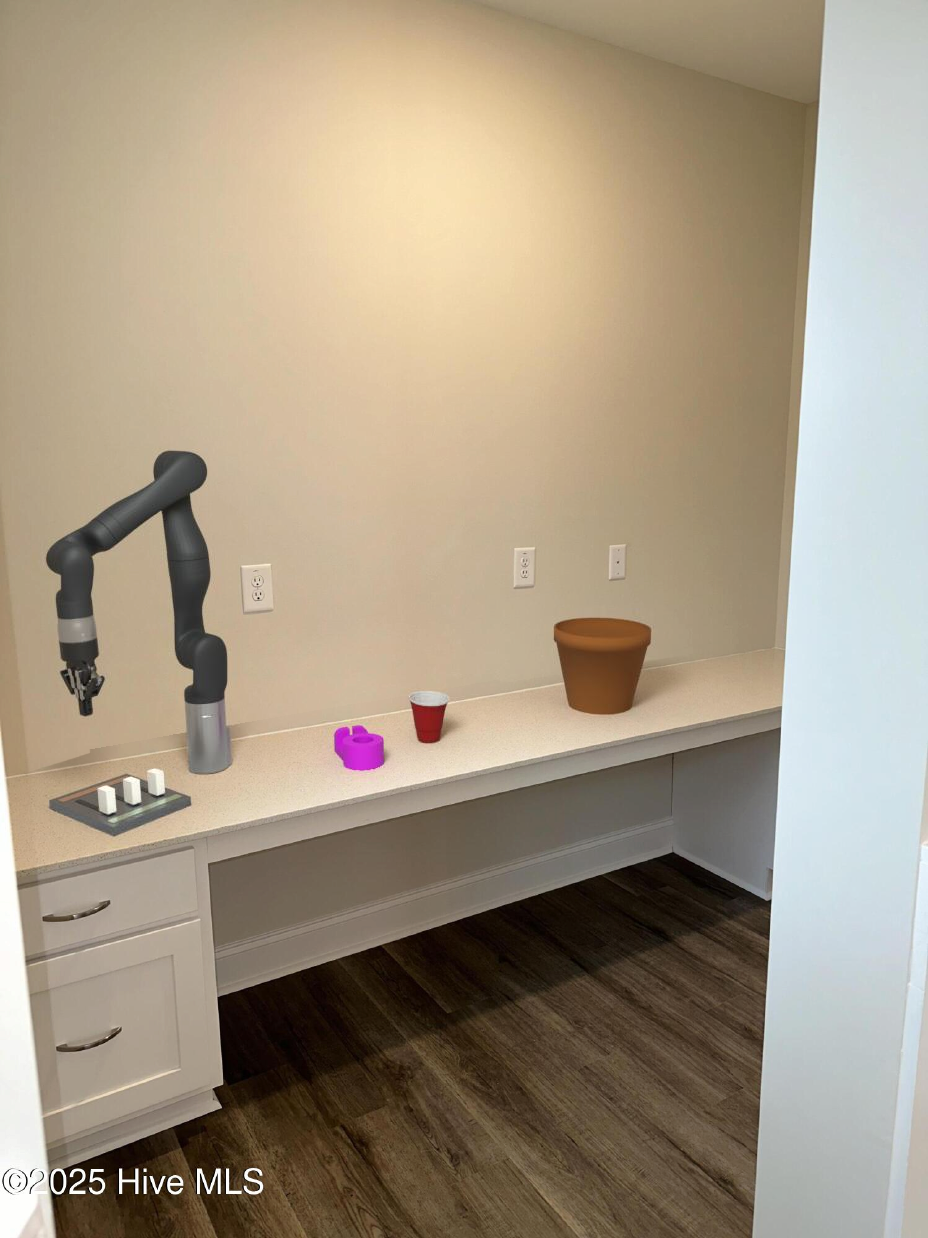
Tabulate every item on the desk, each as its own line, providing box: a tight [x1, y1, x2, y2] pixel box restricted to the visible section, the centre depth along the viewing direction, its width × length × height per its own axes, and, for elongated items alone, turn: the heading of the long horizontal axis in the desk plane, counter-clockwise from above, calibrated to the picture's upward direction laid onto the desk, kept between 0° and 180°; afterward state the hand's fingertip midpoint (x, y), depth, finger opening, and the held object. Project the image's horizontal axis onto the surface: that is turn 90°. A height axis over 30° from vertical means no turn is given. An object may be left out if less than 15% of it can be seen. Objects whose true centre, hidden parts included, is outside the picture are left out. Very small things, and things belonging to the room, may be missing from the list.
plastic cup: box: [408, 690, 451, 744], centre depth 240 cm, size 11×11×12 cm
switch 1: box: [97, 785, 116, 814], centre depth 190 cm, size 2×3×5 cm, turn 54°
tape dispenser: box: [333, 724, 385, 772], centre depth 227 cm, size 16×10×6 cm, turn 24°
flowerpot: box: [553, 617, 652, 716], centre depth 269 cm, size 28×28×24 cm
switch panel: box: [48, 773, 192, 837], centre depth 198 cm, size 19×23×2 cm
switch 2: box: [146, 768, 166, 796], centre depth 200 cm, size 2×3×5 cm, turn 54°
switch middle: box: [123, 777, 141, 805], centre depth 195 cm, size 2×3×5 cm, turn 54°
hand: (86, 714), depth 197 cm, fingers closed
